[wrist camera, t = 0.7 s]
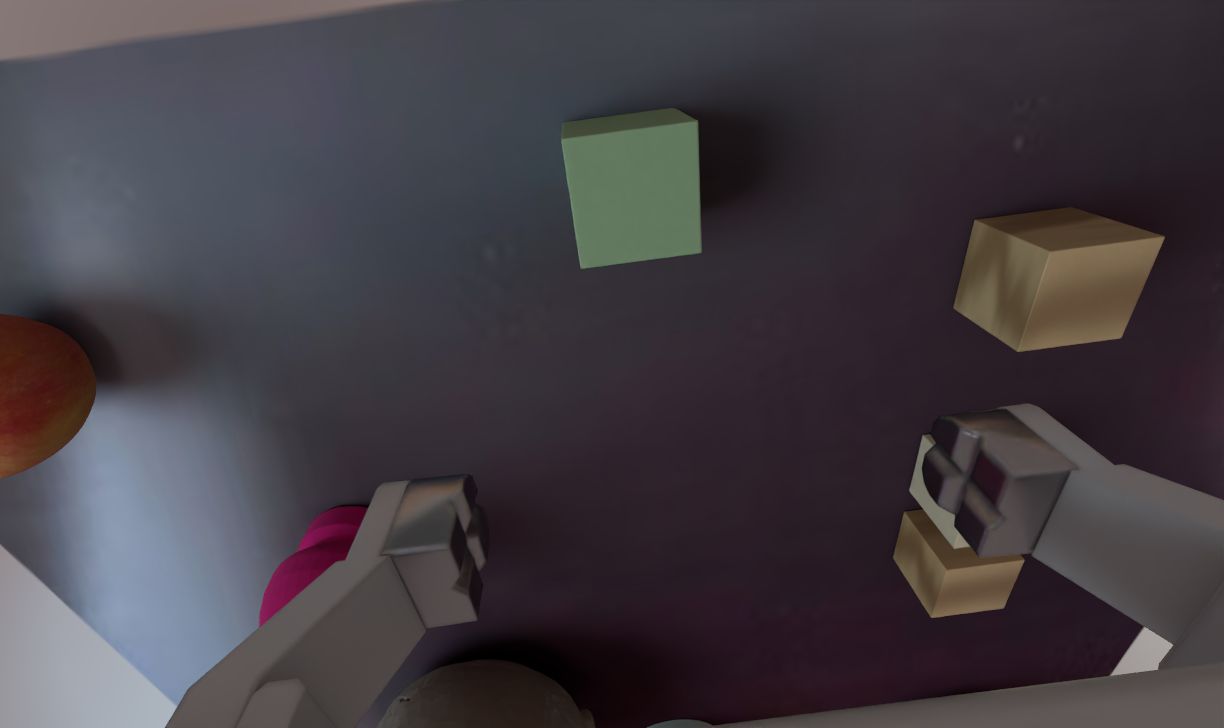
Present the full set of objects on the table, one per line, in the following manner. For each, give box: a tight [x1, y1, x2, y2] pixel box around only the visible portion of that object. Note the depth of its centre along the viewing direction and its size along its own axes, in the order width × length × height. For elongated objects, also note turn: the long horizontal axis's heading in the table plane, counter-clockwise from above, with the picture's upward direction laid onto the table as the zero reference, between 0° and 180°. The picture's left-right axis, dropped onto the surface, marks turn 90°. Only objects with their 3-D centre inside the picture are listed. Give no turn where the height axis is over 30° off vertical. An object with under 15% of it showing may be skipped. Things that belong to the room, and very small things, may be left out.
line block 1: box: [910, 434, 970, 549], centre depth 33 cm, size 5×5×5 cm
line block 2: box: [893, 509, 1024, 618], centre depth 37 cm, size 5×5×5 cm
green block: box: [561, 108, 702, 269], centre depth 23 cm, size 5×5×5 cm
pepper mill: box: [259, 506, 368, 627], centre depth 27 cm, size 7×7×20 cm
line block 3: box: [953, 207, 1165, 352], centre depth 26 cm, size 5×5×5 cm
